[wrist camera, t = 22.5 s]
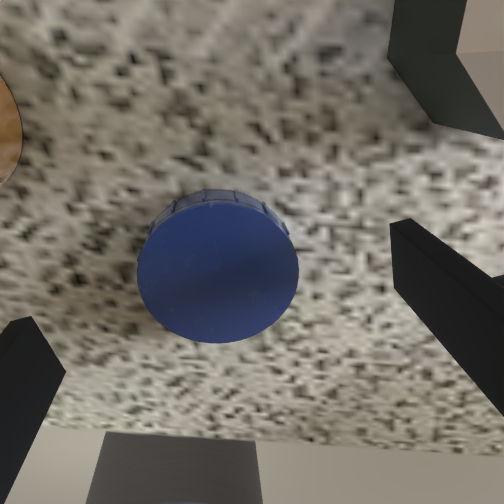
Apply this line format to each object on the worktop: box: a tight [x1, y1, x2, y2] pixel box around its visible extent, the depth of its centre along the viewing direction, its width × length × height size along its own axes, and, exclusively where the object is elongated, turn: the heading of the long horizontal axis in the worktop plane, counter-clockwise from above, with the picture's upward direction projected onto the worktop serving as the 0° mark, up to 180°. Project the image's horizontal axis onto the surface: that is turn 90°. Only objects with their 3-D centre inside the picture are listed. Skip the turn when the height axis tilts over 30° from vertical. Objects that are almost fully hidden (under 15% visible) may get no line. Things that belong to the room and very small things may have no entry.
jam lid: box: [137, 189, 299, 343], centre depth 16 cm, size 6×6×2 cm
